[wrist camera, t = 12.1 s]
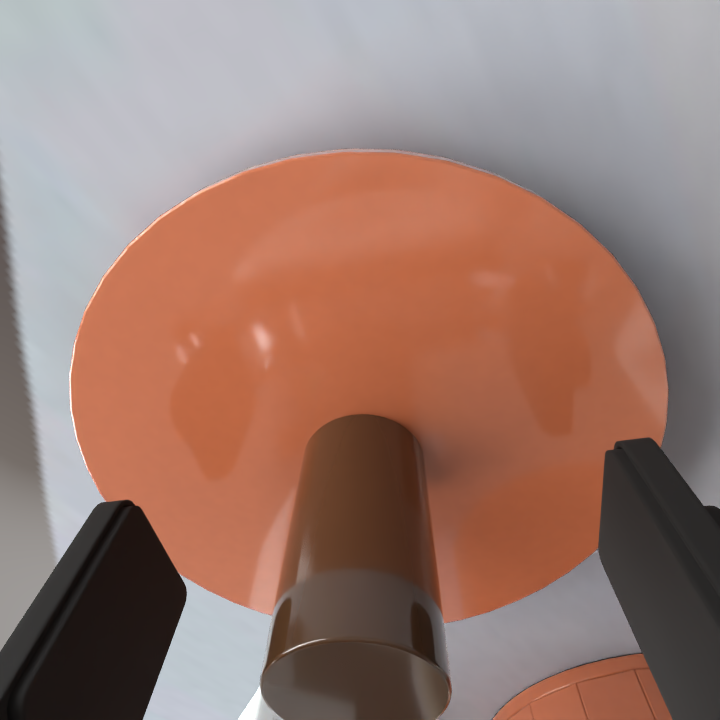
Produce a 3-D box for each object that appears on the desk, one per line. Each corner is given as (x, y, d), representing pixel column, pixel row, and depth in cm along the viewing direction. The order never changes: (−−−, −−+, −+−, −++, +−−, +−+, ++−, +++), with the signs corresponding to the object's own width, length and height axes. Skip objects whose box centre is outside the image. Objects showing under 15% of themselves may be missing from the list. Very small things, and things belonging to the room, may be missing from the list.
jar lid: (683, 72, 8) (1202, 72, 3) (622, 577, 15) (756, 852, 10) (-22, 214, 10) (-470, 374, 5) (203, 613, 17) (122, 867, 11)
